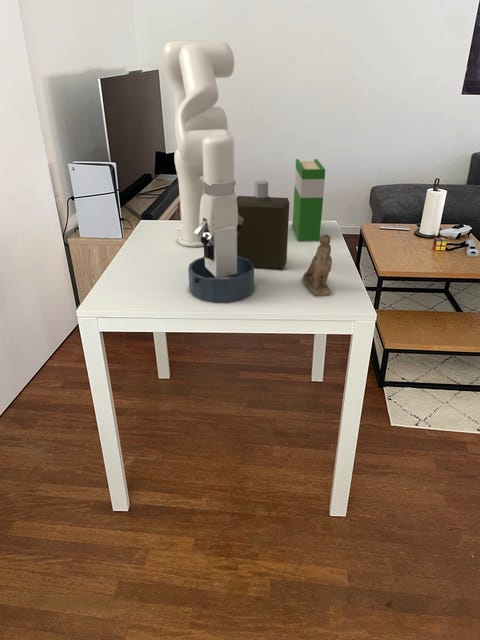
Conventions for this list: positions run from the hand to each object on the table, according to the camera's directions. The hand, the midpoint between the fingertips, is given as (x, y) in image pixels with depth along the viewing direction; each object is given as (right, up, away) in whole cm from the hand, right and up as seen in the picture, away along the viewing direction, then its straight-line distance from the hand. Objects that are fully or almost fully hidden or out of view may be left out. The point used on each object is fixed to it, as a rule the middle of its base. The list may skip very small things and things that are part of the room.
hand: (220, 253), depth 127 cm
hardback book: (+29, +14, +45) cm, 55 cm away
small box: (0, -4, +3) cm, 5 cm away
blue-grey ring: (0, -9, +4) cm, 10 cm away
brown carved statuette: (+26, -9, +5) cm, 28 cm away
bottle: (+11, -1, +19) cm, 22 cm away
